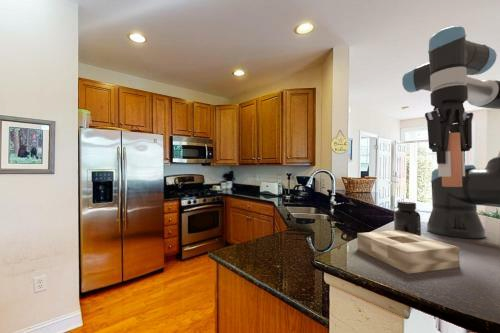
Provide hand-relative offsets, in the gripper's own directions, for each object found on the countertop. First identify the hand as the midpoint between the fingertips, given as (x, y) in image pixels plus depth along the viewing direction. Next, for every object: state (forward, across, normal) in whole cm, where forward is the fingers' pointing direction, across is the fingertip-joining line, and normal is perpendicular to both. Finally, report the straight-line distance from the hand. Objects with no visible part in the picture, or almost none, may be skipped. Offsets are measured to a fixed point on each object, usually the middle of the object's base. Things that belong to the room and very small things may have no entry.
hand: (451, 176), depth 61 cm
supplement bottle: (+21, +2, -12) cm, 24 cm away
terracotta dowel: (+3, 0, 0) cm, 3 cm away
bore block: (+20, +15, -1) cm, 25 cm away
